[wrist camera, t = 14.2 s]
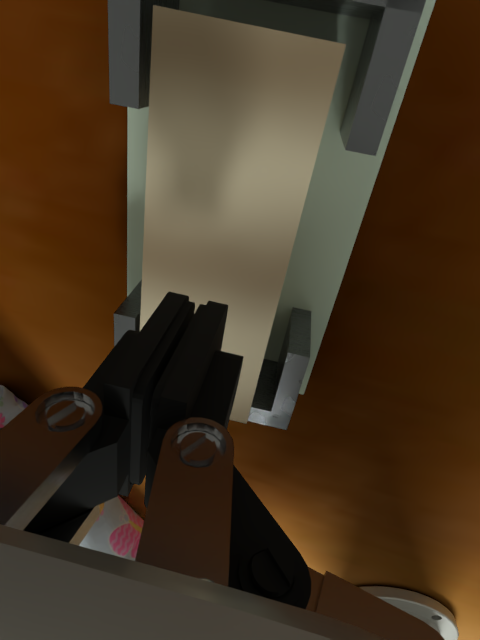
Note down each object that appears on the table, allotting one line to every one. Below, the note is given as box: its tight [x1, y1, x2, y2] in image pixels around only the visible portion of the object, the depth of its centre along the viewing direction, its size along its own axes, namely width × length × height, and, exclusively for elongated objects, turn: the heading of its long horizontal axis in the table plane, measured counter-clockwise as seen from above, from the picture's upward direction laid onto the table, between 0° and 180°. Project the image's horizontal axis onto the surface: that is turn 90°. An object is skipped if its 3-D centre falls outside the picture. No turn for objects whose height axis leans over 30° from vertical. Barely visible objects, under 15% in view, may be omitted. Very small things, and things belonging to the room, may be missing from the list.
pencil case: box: [0, 385, 144, 561], centre depth 31 cm, size 21×9×10 cm, turn 27°
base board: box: [127, 0, 436, 395], centre depth 20 cm, size 20×11×2 cm, turn 171°
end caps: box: [108, 0, 426, 430], centre depth 17 cm, size 18×9×4 cm, turn 171°
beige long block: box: [140, 5, 346, 424], centre depth 17 cm, size 14×5×6 cm, turn 171°
